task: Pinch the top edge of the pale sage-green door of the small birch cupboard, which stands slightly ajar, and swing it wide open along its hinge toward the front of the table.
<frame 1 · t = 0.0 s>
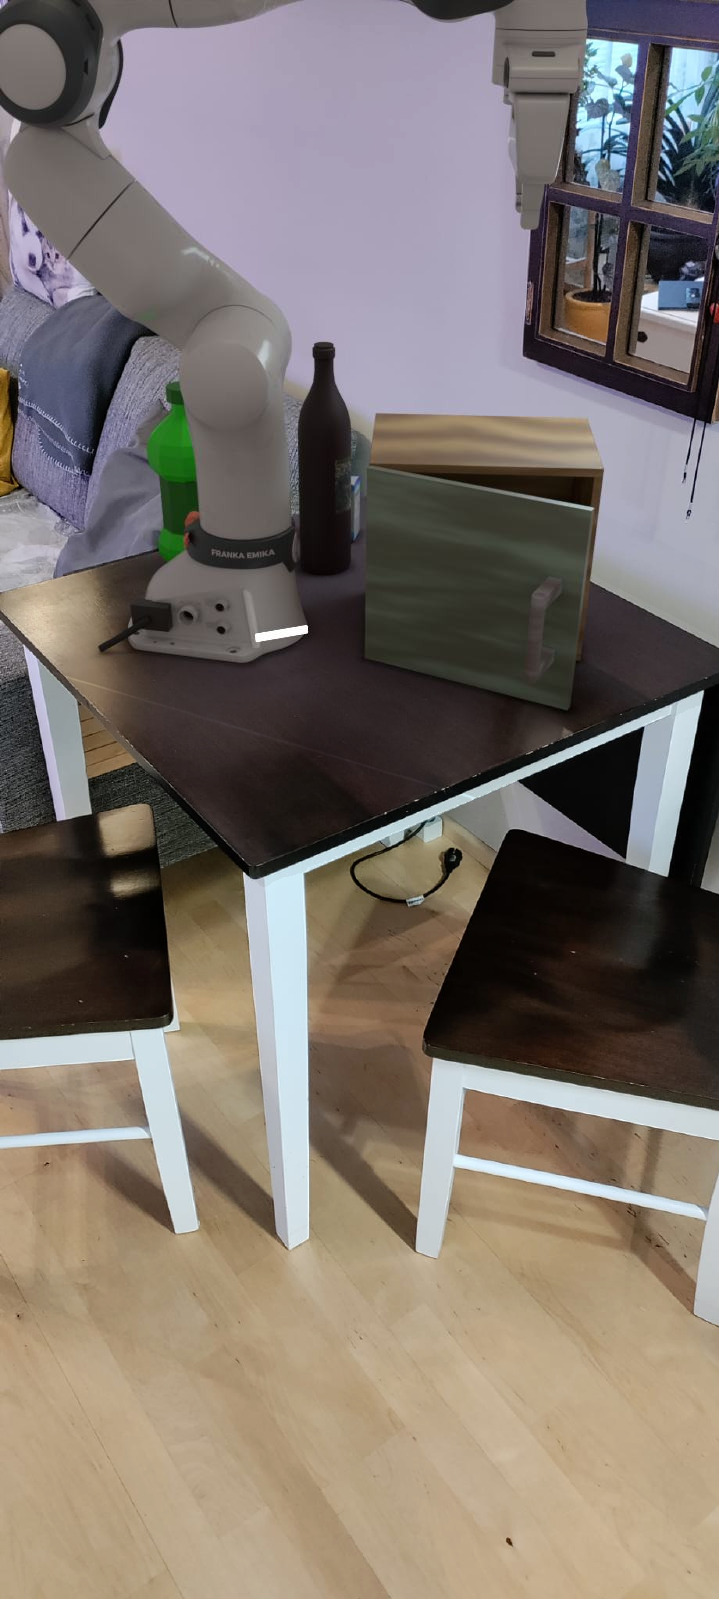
hand: (525, 219, 126), 48 cm above the table, tool pointing down, fingers open, 8 cm apart
medicine box: (331, 536, 179), on the table
door: (459, 599, 134), point 12 cm above the table, hinge at 25.0°
cupboard: (471, 624, 156), on the table
wine bottle: (325, 566, 170), on the table
plastic bottle: (195, 569, 169), on the table
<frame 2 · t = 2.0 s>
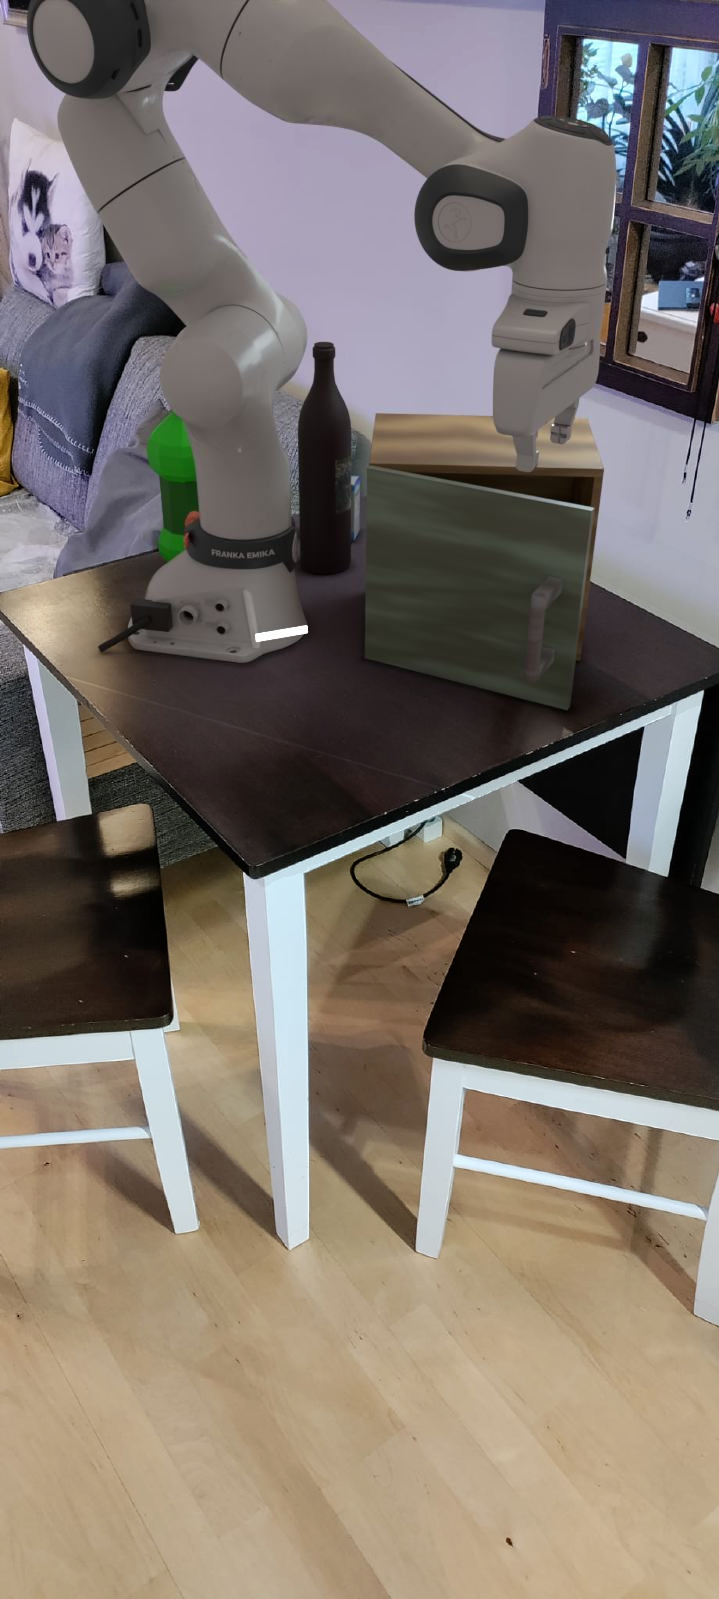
hand: (543, 455, 124), 29 cm above the table, tool pointing down, fingers open, 8 cm apart
nothing on the table moved.
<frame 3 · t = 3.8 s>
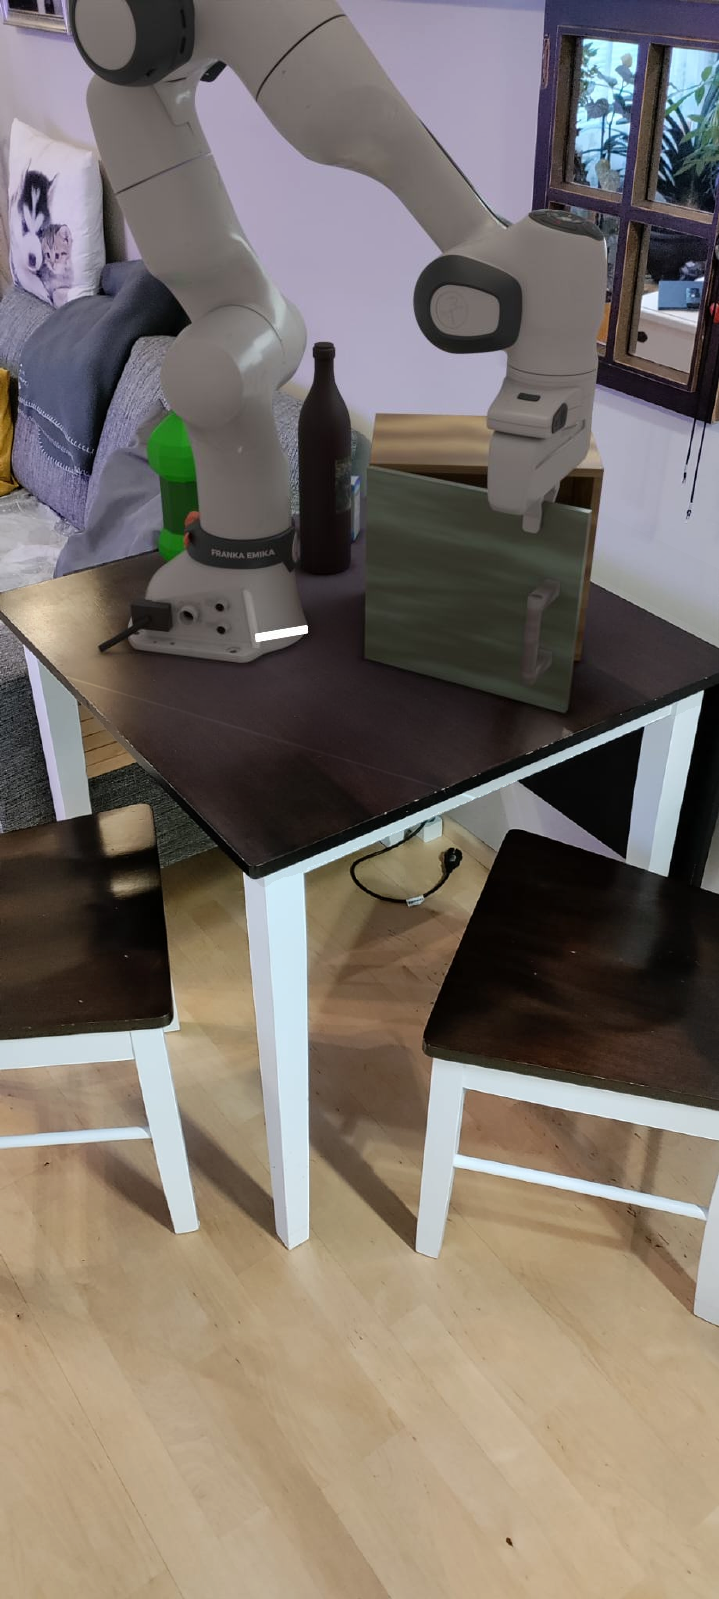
hand: (536, 526, 128), 21 cm above the table, tool pointing down, fingers closed on door
door: (457, 600, 134), point 12 cm above the table, hinge at 26.6°, touching gripper
everything else where it was.
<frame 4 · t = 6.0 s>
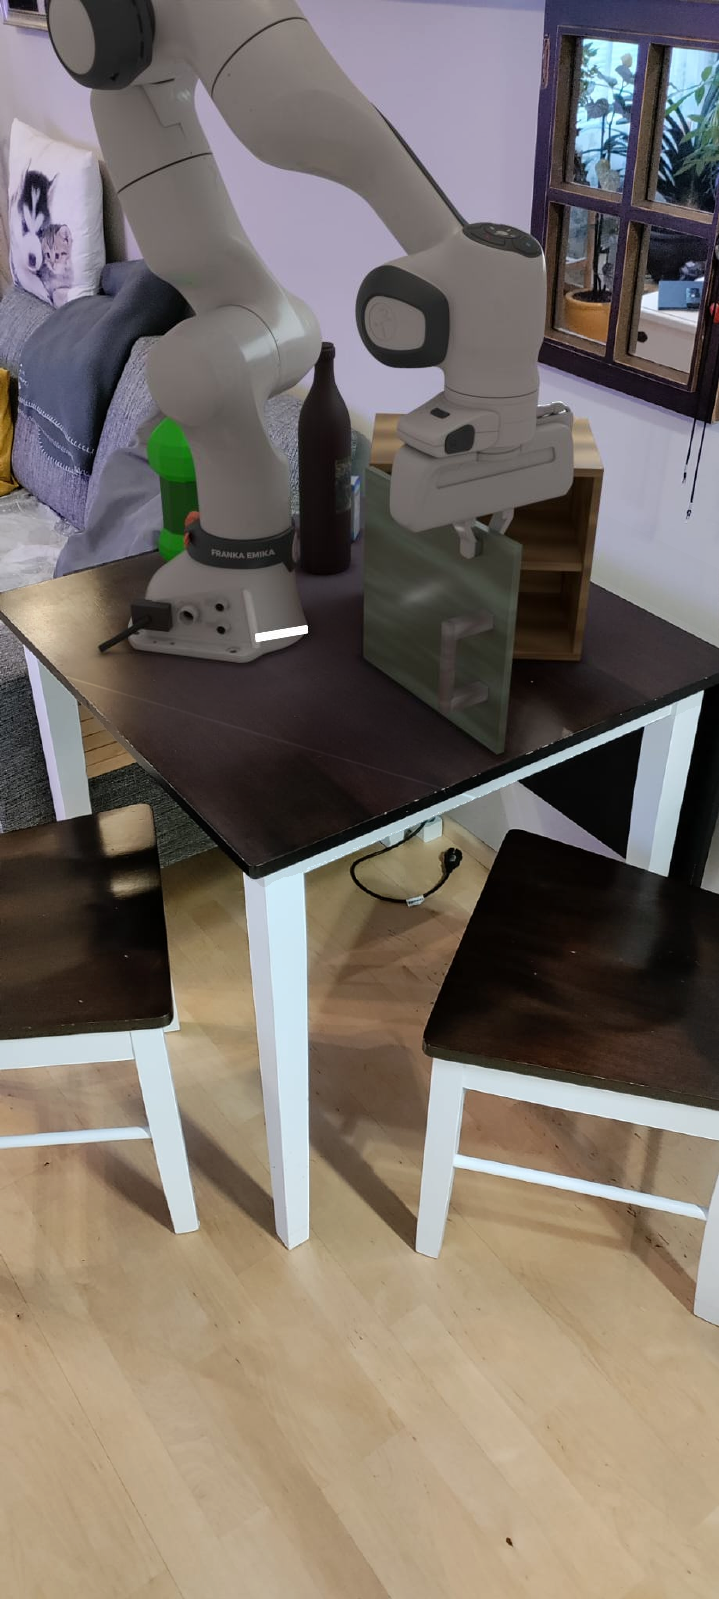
hand: (480, 552, 122), 21 cm above the table, tool pointing down, fingers closed, pressing on door
door: (411, 614, 131), point 12 cm above the table, hinge at 53.8°, touching gripper
everything else where it was.
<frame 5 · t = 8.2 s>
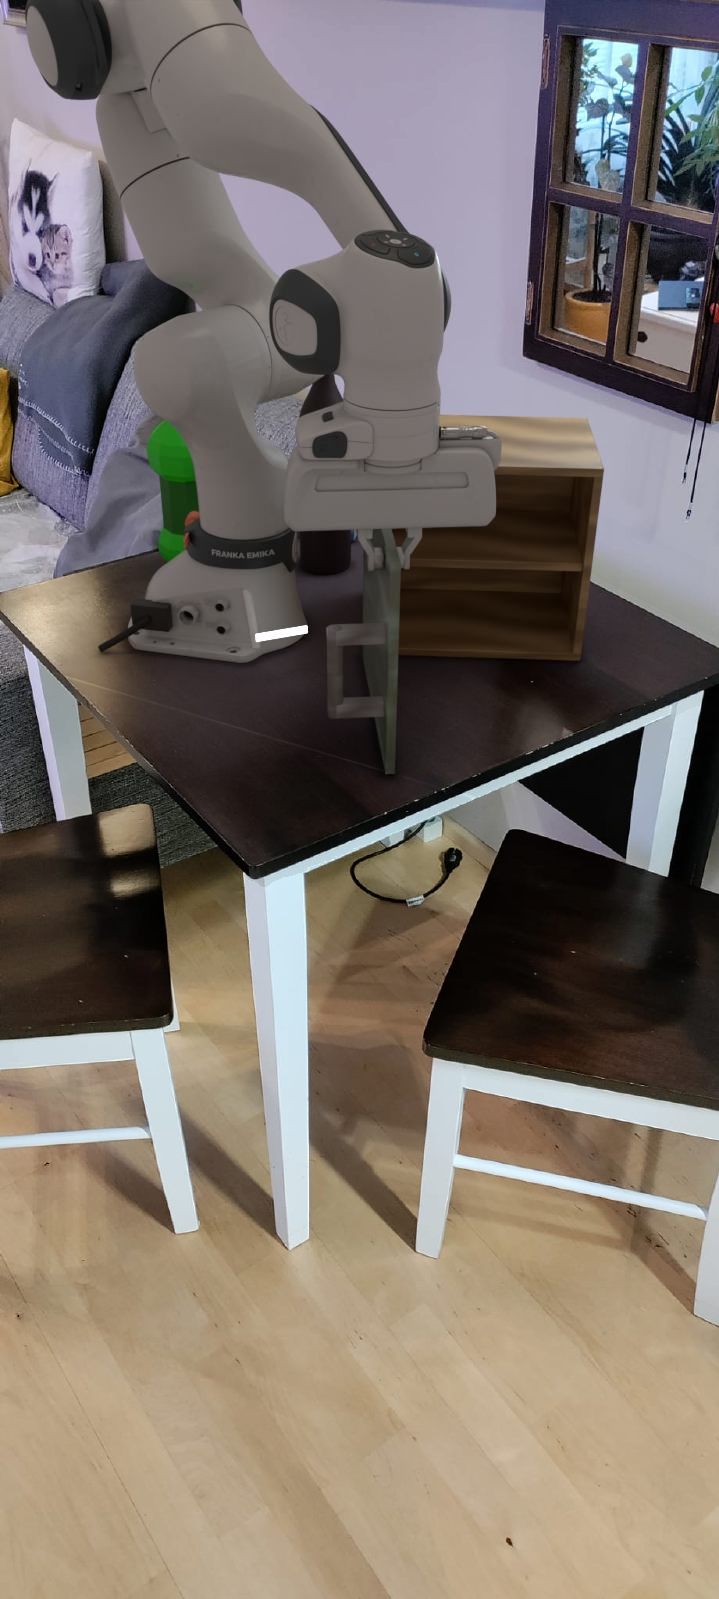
hand: (388, 567, 119), 21 cm above the table, tool pointing down, fingers closed, pressing on door
door: (352, 616, 130), point 12 cm above the table, hinge at 81.9°, touching gripper
everything else where it was.
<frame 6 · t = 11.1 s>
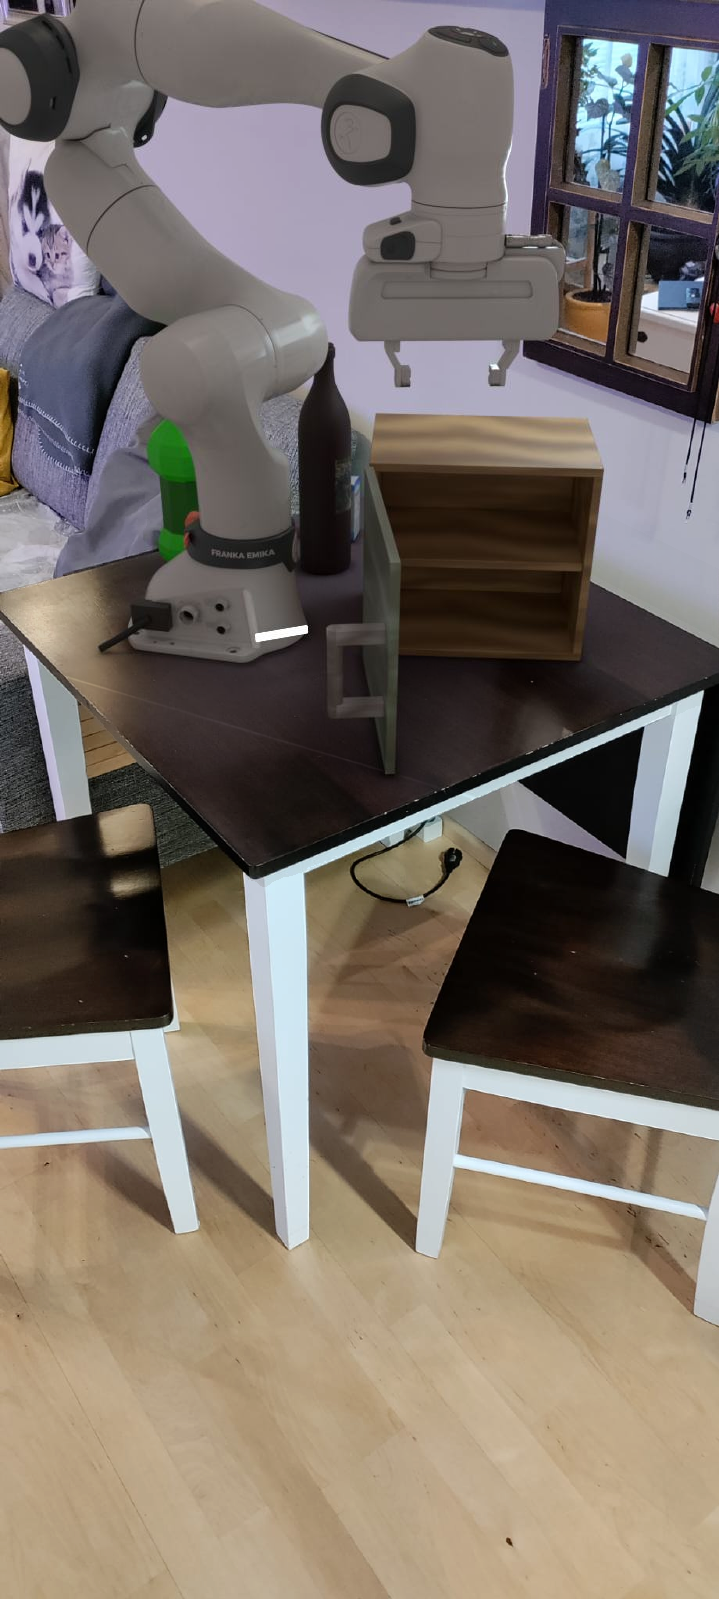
hand: (449, 385, 121), 35 cm above the table, tool pointing down, fingers open, 8 cm apart
door: (352, 616, 130), point 12 cm above the table, hinge at 81.9°
everything else where it was.
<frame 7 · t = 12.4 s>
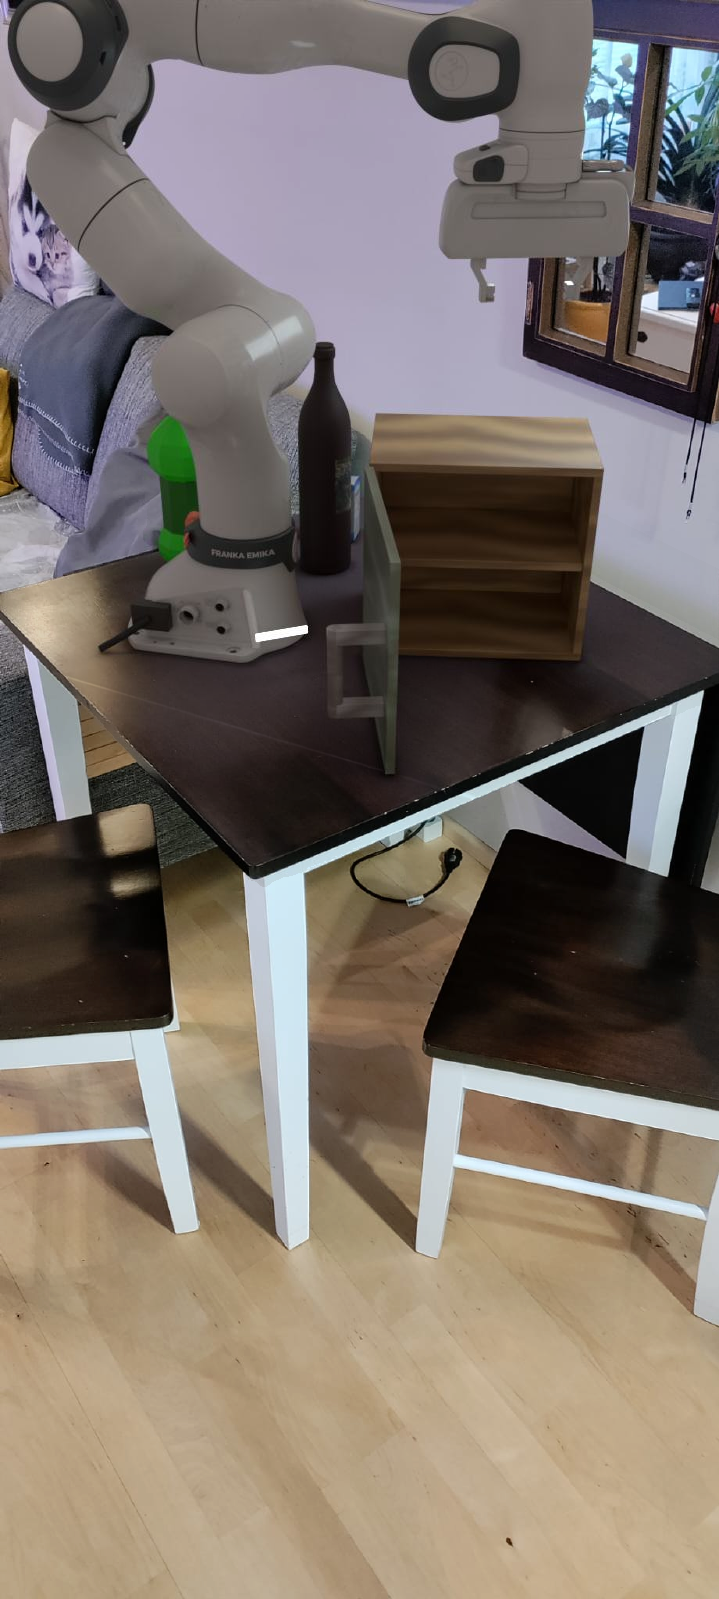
hand: (528, 300, 134), 39 cm above the table, tool pointing down, fingers open, 8 cm apart
nothing on the table moved.
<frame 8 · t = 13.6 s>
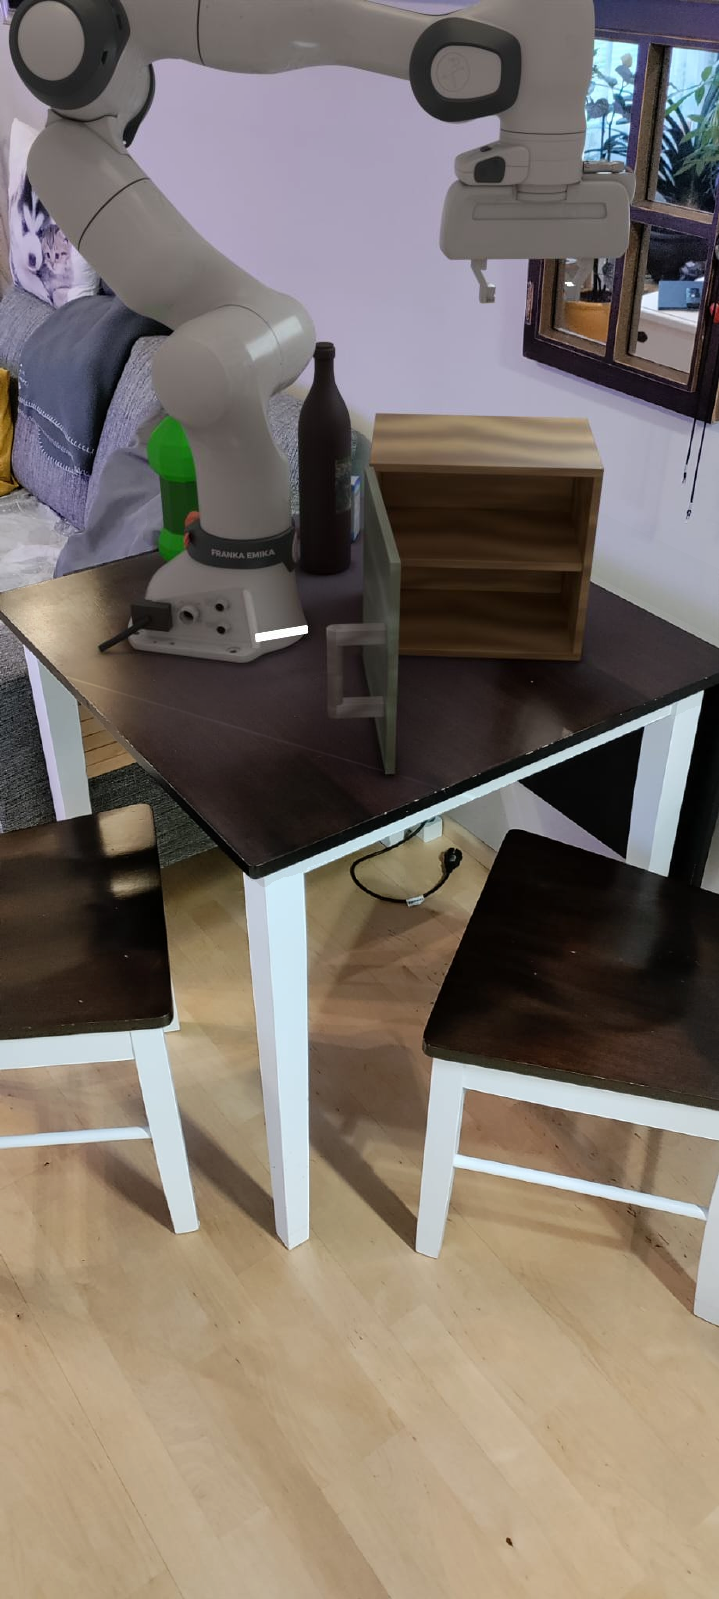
hand: (528, 301, 134), 39 cm above the table, tool pointing down, fingers open, 8 cm apart
nothing on the table moved.
at the end: door at +82° (first picture: +25°) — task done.
